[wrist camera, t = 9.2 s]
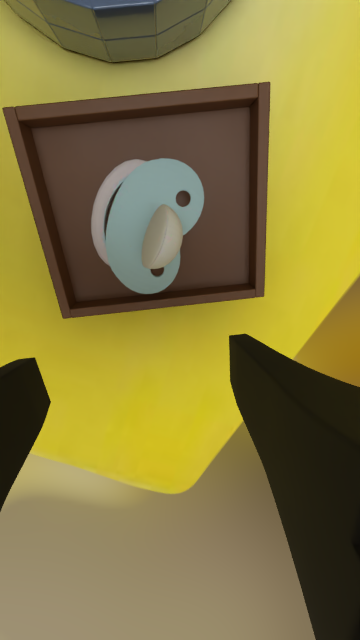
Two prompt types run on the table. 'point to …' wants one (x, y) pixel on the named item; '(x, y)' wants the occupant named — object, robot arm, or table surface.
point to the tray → (219, 195)
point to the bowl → (119, 24)
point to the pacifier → (145, 220)
